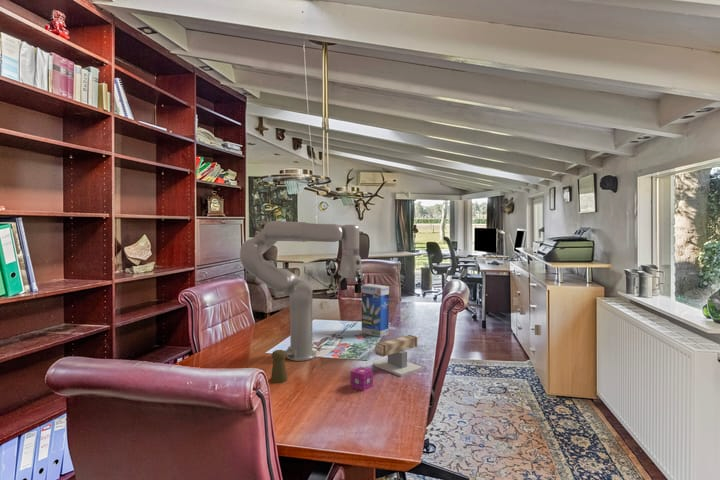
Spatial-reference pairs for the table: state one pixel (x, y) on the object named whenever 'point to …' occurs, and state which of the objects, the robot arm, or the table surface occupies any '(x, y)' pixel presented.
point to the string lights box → (375, 309)
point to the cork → (279, 367)
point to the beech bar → (395, 345)
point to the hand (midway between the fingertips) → (350, 291)
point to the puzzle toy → (362, 378)
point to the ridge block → (398, 364)
